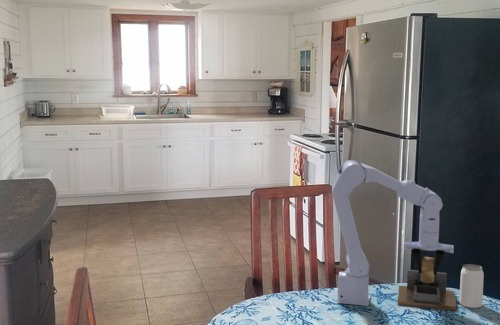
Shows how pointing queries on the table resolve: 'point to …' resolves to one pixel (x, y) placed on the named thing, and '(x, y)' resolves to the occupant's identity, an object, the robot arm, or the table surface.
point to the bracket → (426, 292)
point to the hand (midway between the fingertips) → (427, 273)
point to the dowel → (427, 269)
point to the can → (471, 286)
